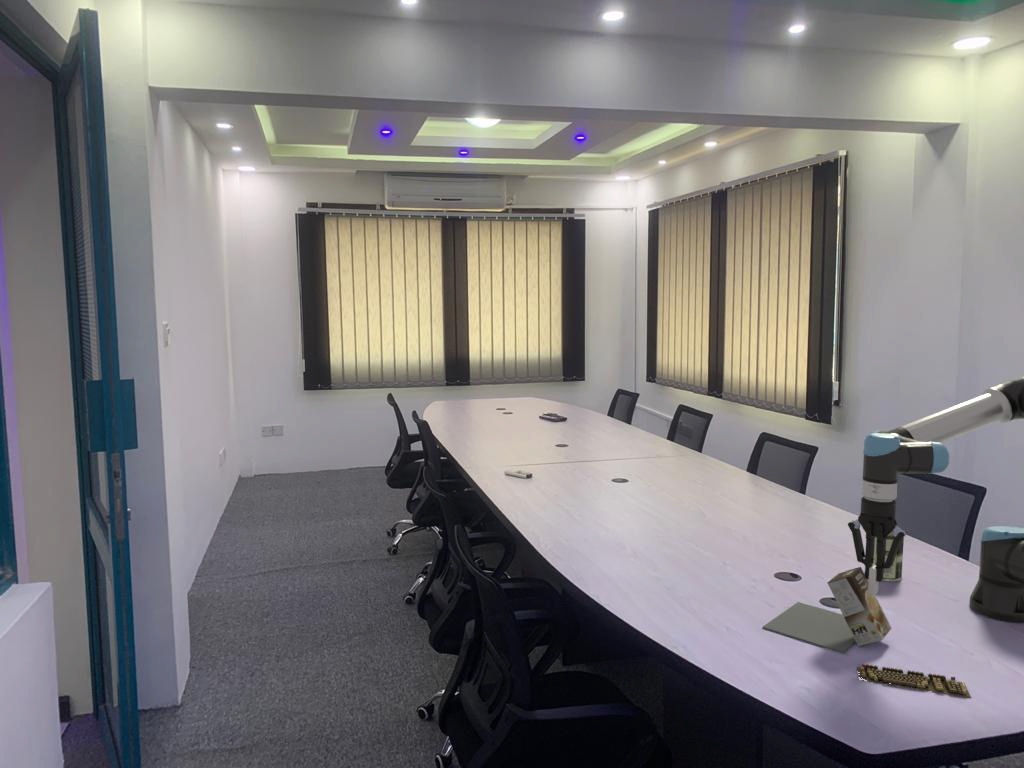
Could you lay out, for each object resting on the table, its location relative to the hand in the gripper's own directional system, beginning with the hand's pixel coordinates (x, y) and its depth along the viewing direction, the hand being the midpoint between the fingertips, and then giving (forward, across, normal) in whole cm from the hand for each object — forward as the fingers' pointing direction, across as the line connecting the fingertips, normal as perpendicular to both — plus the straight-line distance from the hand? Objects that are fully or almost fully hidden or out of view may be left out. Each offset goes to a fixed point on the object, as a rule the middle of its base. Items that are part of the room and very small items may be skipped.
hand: (873, 592), depth 179 cm
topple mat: (+13, -12, 0) cm, 18 cm away
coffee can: (+13, -12, +50) cm, 53 cm away
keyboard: (+13, +13, -14) cm, 23 cm away
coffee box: (+11, +1, 0) cm, 11 cm away
